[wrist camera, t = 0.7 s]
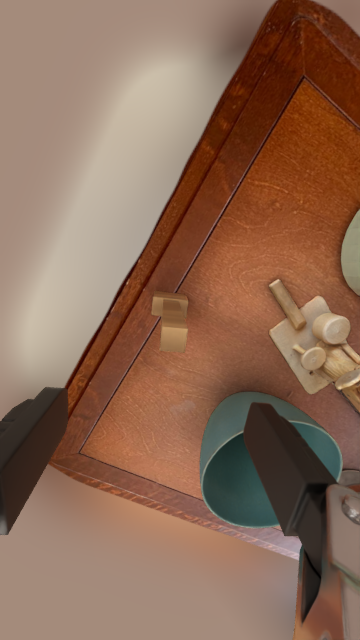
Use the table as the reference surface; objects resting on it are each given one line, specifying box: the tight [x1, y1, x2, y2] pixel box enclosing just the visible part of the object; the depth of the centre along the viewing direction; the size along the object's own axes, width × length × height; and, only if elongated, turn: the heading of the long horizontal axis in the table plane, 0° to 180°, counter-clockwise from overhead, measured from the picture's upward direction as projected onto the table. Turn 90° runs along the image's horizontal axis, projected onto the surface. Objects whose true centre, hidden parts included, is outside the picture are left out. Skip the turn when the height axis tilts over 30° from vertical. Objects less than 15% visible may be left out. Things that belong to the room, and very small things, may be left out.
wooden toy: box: [269, 280, 360, 402], centre depth 28 cm, size 22×10×14 cm, turn 35°
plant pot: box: [200, 392, 343, 528], centre depth 32 cm, size 18×18×12 cm
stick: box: [151, 291, 189, 353], centre depth 24 cm, size 2×4×16 cm, turn 83°
